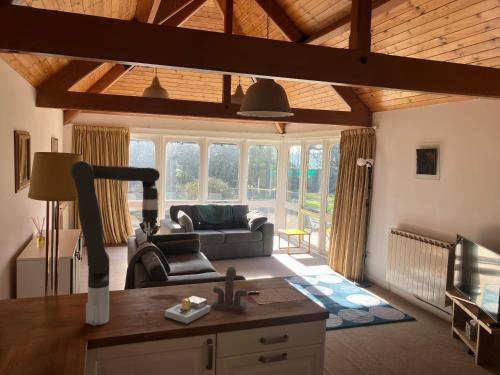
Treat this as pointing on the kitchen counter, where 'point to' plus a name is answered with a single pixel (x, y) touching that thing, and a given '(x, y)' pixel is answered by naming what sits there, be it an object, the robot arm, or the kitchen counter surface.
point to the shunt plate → (197, 301)
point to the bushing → (185, 304)
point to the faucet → (229, 293)
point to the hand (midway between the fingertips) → (149, 242)
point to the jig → (186, 313)
